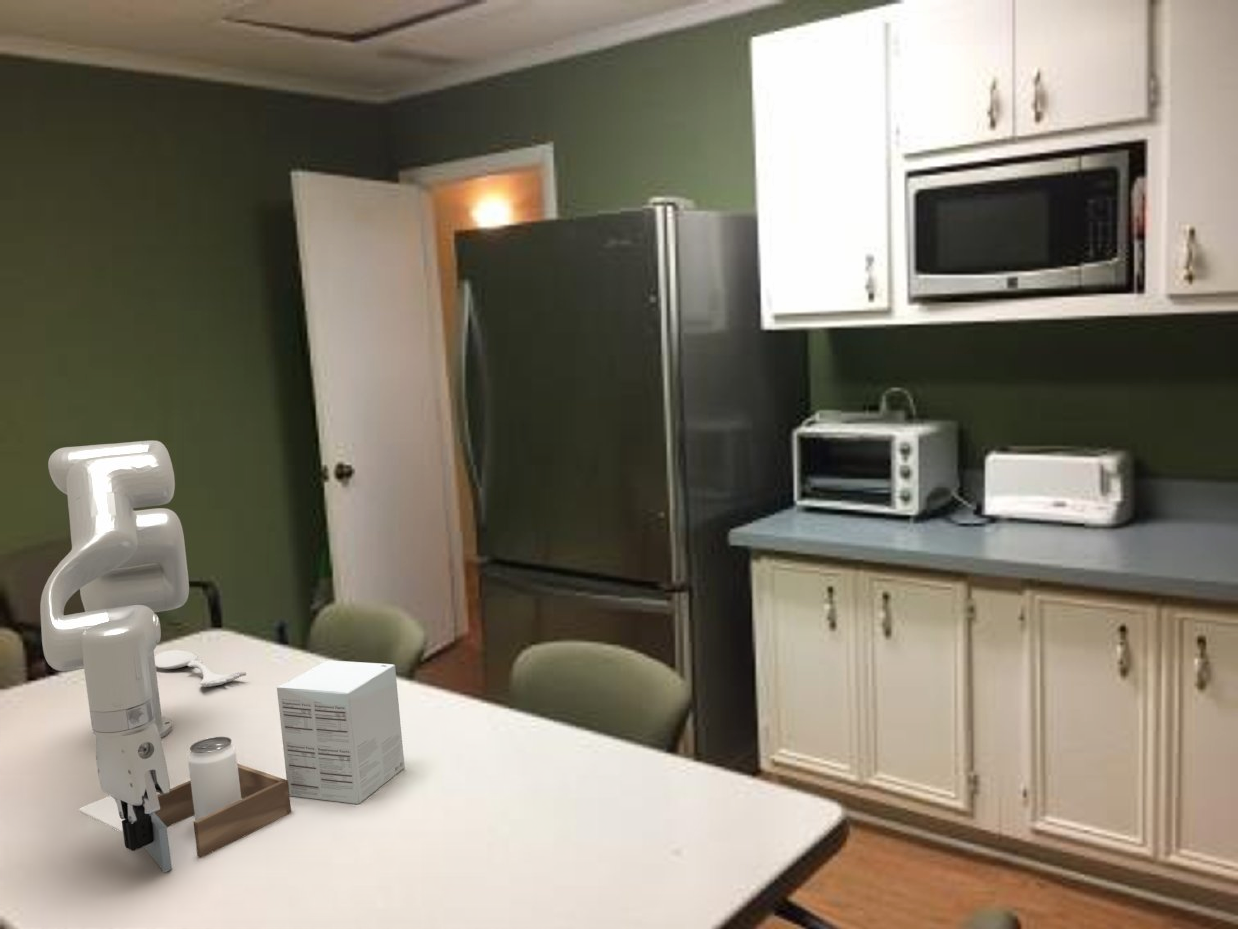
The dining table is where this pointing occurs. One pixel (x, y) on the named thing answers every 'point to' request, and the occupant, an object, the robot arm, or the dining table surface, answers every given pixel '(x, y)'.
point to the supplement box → (341, 730)
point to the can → (213, 775)
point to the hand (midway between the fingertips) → (139, 845)
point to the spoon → (184, 658)
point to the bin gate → (160, 844)
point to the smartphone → (104, 812)
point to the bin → (229, 809)
